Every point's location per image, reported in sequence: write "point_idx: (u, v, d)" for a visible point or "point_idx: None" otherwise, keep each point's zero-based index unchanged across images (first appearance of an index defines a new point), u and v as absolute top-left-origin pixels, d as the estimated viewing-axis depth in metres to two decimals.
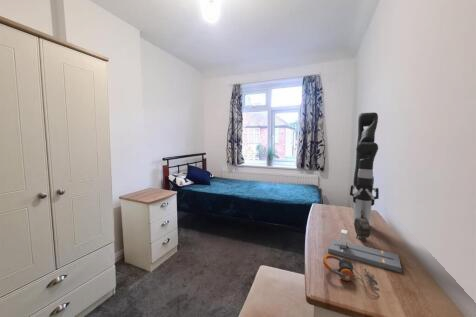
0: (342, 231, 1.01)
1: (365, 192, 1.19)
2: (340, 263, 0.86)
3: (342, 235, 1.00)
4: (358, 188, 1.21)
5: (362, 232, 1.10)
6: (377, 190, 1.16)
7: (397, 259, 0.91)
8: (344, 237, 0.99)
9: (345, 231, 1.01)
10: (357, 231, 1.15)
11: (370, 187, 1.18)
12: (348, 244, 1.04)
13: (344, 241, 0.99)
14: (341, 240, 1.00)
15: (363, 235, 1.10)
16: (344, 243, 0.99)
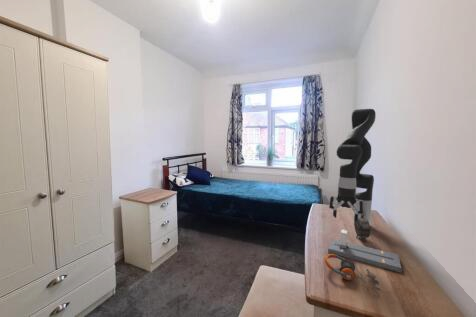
0: (342, 231, 1.01)
1: (347, 205, 0.98)
2: (342, 262, 0.86)
3: (342, 235, 1.00)
4: (339, 200, 1.00)
5: (362, 232, 1.10)
6: (361, 203, 0.95)
7: (397, 259, 0.91)
8: (344, 237, 0.99)
9: (345, 231, 1.01)
10: (357, 231, 1.15)
11: (353, 199, 0.97)
12: (348, 244, 1.04)
13: (344, 241, 0.99)
14: (341, 240, 1.00)
15: (363, 235, 1.10)
16: (344, 243, 0.99)
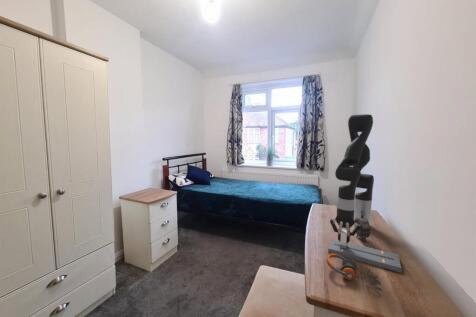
0: (342, 231, 1.01)
1: (344, 224, 1.00)
2: (343, 262, 0.86)
3: (342, 235, 1.00)
4: (338, 222, 1.01)
5: (362, 232, 1.10)
6: (358, 228, 0.96)
7: (397, 259, 0.91)
8: (344, 237, 0.99)
9: (345, 231, 1.01)
10: (357, 231, 1.15)
11: (352, 221, 0.98)
12: (348, 244, 1.04)
13: (344, 241, 0.99)
14: (341, 240, 1.00)
15: (363, 235, 1.10)
16: (344, 243, 0.99)
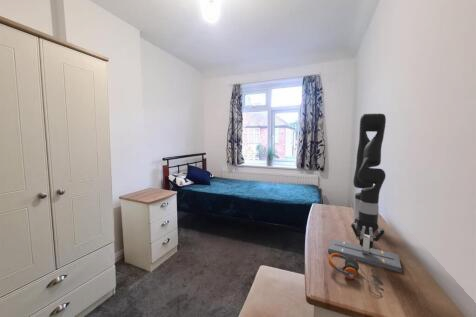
0: (364, 236, 0.96)
1: (367, 229, 0.95)
2: (346, 262, 0.86)
3: (365, 240, 0.95)
4: (360, 227, 0.96)
5: None
6: (382, 233, 0.92)
7: (397, 259, 0.91)
8: (367, 242, 0.94)
9: (368, 236, 0.96)
10: None
11: (376, 225, 0.93)
12: (348, 244, 1.04)
13: (367, 247, 0.94)
14: (364, 245, 0.95)
15: None
16: (367, 249, 0.94)
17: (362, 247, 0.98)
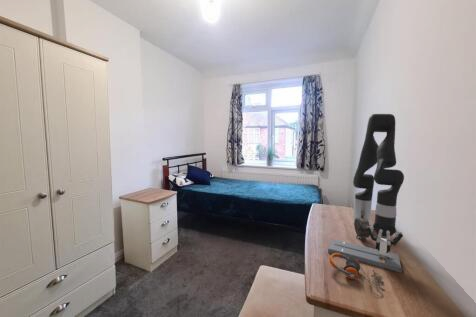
0: (381, 240, 0.93)
1: (384, 233, 0.91)
2: (347, 262, 0.86)
3: (382, 244, 0.91)
4: (376, 230, 0.93)
5: (362, 232, 1.10)
6: (400, 236, 0.88)
7: (397, 259, 0.91)
8: (384, 246, 0.91)
9: (384, 240, 0.93)
10: (357, 231, 1.15)
11: (394, 229, 0.89)
12: (348, 244, 1.04)
13: (384, 251, 0.91)
14: (380, 250, 0.92)
15: (363, 235, 1.10)
16: (384, 253, 0.91)
17: (378, 251, 0.94)
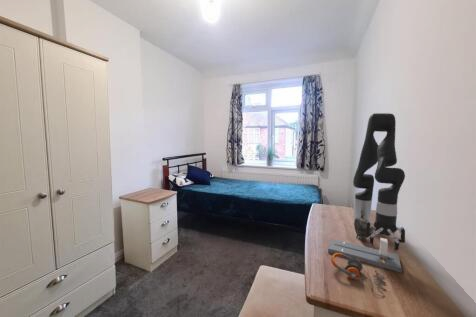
0: (382, 240, 0.92)
1: (386, 232, 0.91)
2: (349, 262, 0.86)
3: (382, 244, 0.91)
4: (377, 227, 0.93)
5: (362, 232, 1.10)
6: (403, 231, 0.88)
7: (397, 259, 0.91)
8: (385, 246, 0.91)
9: (385, 240, 0.92)
10: (357, 231, 1.15)
11: (393, 227, 0.89)
12: (348, 244, 1.04)
13: (385, 251, 0.91)
14: (381, 250, 0.91)
15: (363, 235, 1.10)
16: (385, 253, 0.91)
17: (379, 251, 0.94)
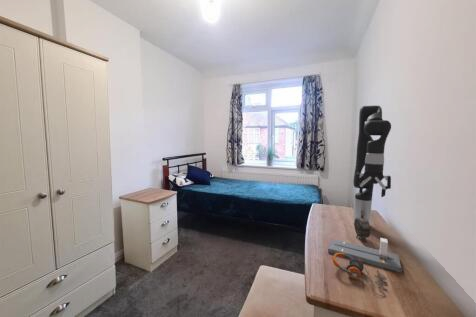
0: (382, 240, 0.92)
1: (374, 181, 0.99)
2: (350, 262, 0.87)
3: (382, 244, 0.91)
4: (366, 176, 1.01)
5: (362, 232, 1.10)
6: (389, 178, 0.96)
7: (397, 259, 0.91)
8: (385, 246, 0.91)
9: (385, 240, 0.92)
10: (357, 231, 1.15)
11: (380, 175, 0.97)
12: (348, 244, 1.04)
13: (385, 251, 0.91)
14: (381, 250, 0.91)
15: (363, 235, 1.10)
16: (385, 253, 0.91)
17: (379, 251, 0.94)
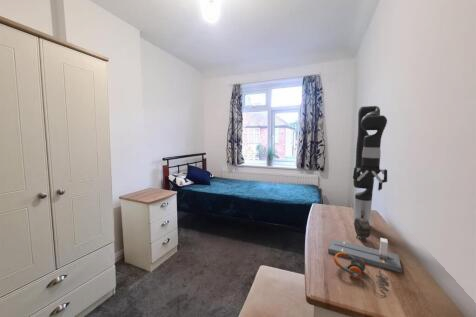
0: (382, 240, 0.92)
1: (371, 175, 1.01)
2: (352, 262, 0.87)
3: (382, 244, 0.91)
4: (363, 170, 1.03)
5: (362, 232, 1.10)
6: (385, 172, 0.98)
7: (397, 259, 0.91)
8: (385, 246, 0.91)
9: (385, 240, 0.92)
10: (357, 231, 1.15)
11: (377, 168, 0.99)
12: (348, 244, 1.04)
13: (385, 251, 0.91)
14: (381, 250, 0.91)
15: (363, 235, 1.10)
16: (385, 253, 0.91)
17: (379, 251, 0.94)
